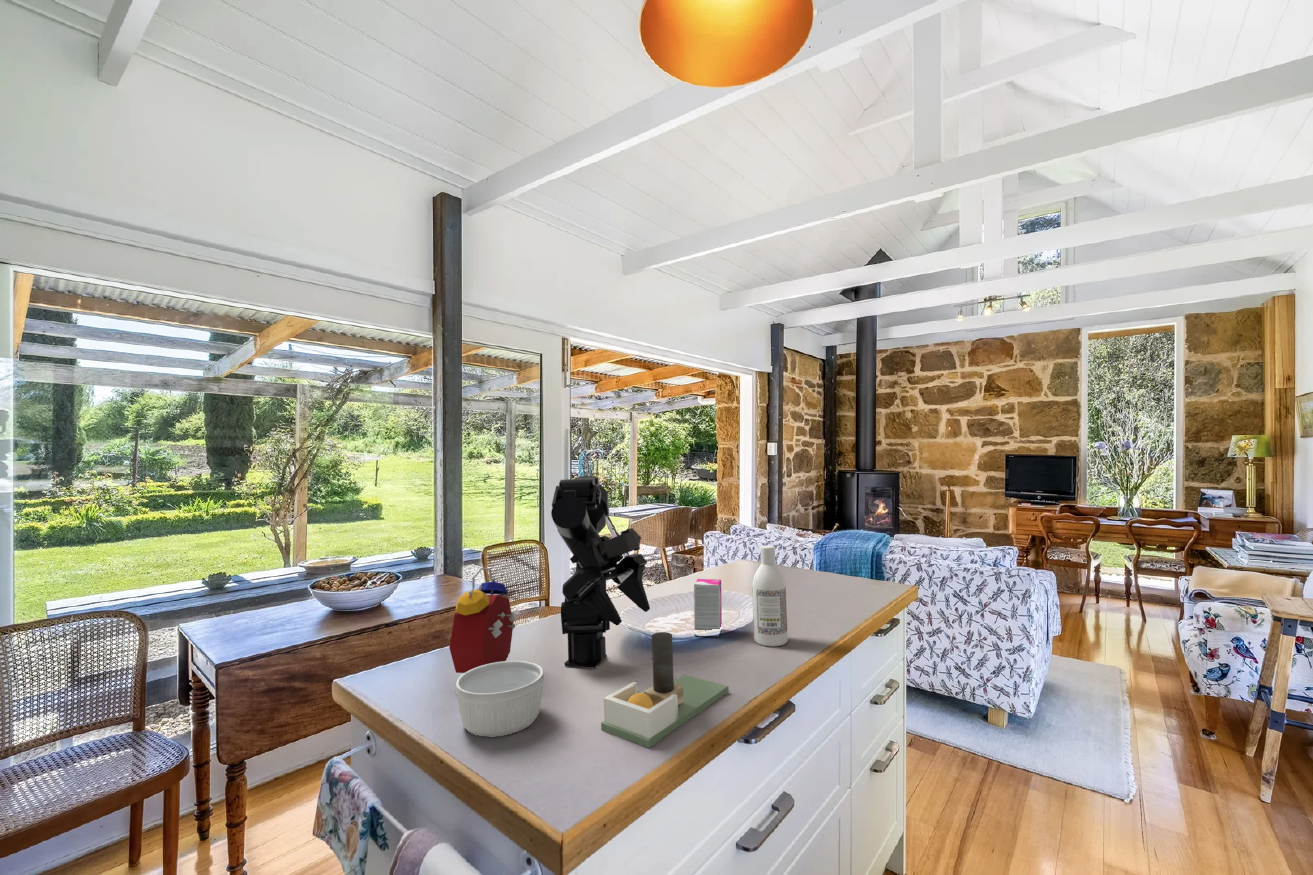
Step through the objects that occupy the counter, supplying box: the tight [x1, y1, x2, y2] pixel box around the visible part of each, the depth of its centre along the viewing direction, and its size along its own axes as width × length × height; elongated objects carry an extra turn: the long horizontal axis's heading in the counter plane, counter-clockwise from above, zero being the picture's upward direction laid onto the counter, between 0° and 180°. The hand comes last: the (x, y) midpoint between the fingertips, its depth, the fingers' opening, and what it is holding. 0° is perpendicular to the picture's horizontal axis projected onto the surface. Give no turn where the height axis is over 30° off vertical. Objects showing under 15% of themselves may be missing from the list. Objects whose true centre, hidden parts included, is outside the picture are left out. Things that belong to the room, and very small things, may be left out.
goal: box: [603, 681, 678, 739], centre depth 83 cm, size 9×7×4 cm
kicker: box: [643, 631, 684, 706], centre depth 88 cm, size 4×5×11 cm
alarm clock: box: [449, 567, 521, 674], centre depth 105 cm, size 15×9×20 cm, turn 173°
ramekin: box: [455, 660, 545, 737], centre depth 87 cm, size 13×13×7 cm
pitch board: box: [600, 673, 729, 749], centre depth 88 cm, size 9×22×1 cm, turn 142°
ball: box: [628, 692, 653, 709], centre depth 83 cm, size 4×4×4 cm
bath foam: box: [751, 545, 789, 647], centre depth 118 cm, size 7×7×20 cm
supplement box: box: [693, 578, 723, 631], centre depth 125 cm, size 6×6×12 cm
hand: (634, 616), depth 94 cm, fingers open, 9 cm apart
